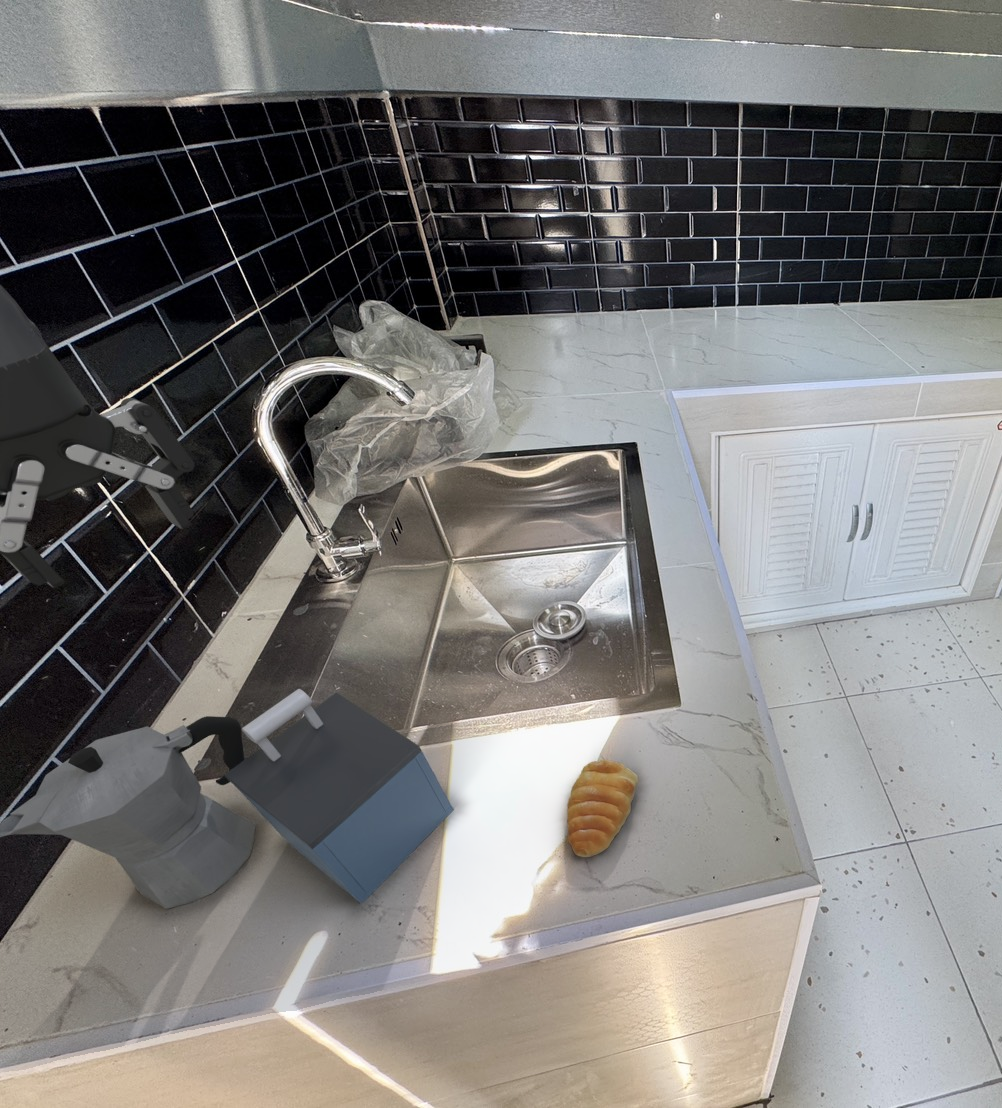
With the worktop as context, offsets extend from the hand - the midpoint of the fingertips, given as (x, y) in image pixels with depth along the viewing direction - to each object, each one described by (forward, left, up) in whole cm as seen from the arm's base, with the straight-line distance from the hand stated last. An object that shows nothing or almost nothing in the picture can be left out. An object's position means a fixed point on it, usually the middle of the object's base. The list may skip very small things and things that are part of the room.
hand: (121, 551), depth 48 cm
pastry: (+22, -29, -30) cm, 47 cm away
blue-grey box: (+4, -14, -30) cm, 33 cm away
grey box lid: (+4, -13, -19) cm, 24 cm away
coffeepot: (-8, -6, -30) cm, 32 cm away
